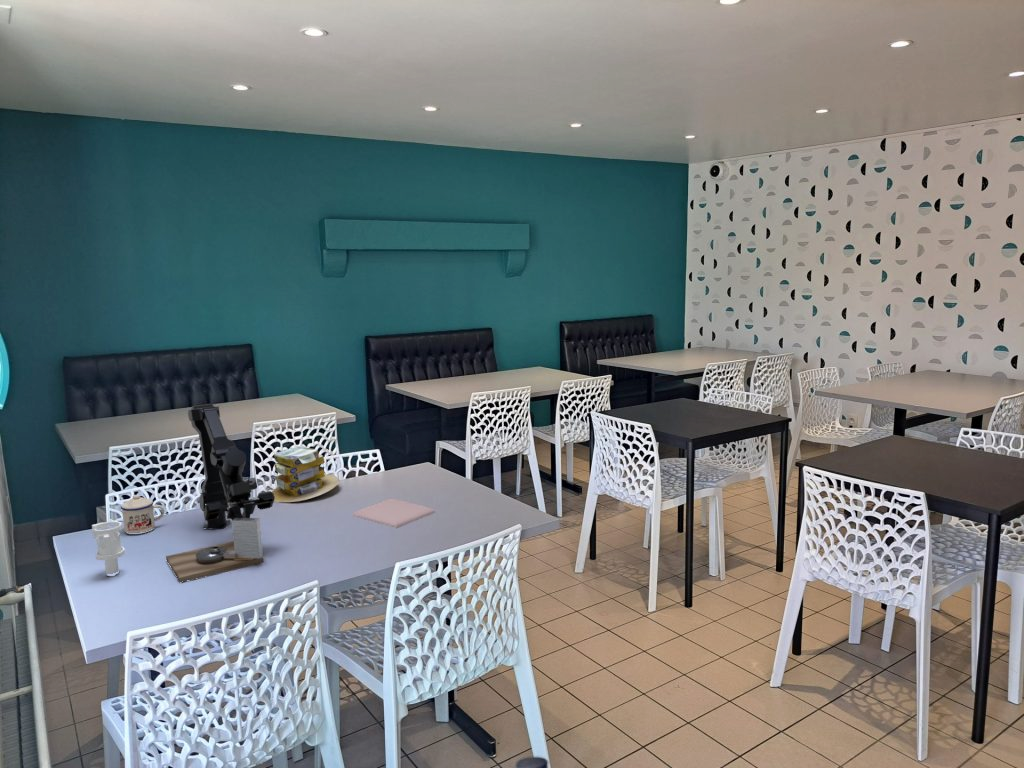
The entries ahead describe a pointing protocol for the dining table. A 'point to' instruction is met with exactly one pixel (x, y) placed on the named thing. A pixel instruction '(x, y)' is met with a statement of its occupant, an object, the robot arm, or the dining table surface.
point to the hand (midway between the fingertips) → (247, 531)
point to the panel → (393, 512)
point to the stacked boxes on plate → (301, 475)
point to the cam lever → (237, 543)
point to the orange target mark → (243, 558)
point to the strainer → (108, 544)
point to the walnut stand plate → (205, 564)
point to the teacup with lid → (139, 514)
